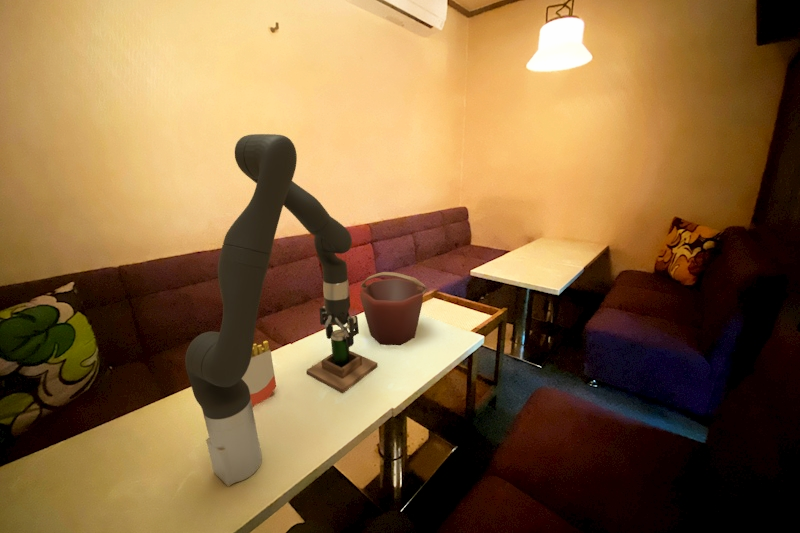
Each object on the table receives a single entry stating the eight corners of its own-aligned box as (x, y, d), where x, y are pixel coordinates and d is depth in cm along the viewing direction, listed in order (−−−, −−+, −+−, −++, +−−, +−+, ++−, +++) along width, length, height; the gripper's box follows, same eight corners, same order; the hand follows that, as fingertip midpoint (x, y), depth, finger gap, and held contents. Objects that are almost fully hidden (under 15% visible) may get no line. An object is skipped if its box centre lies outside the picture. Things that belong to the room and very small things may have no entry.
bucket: (434, 330, 137) (436, 270, 128) (404, 359, 119) (404, 291, 111) (383, 315, 149) (381, 259, 141) (349, 339, 132) (345, 276, 123)
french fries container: (233, 404, 99) (222, 349, 93) (270, 386, 106) (261, 334, 100) (240, 412, 96) (228, 356, 90) (277, 393, 103) (269, 340, 97)
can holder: (342, 393, 103) (341, 380, 101) (306, 374, 112) (305, 362, 110) (377, 366, 115) (377, 354, 114) (342, 351, 124) (341, 339, 122)
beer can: (337, 373, 109) (334, 339, 106) (330, 365, 114) (327, 332, 110) (353, 367, 112) (351, 334, 108) (346, 359, 116) (343, 327, 113)
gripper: (310, 292, 106) (315, 340, 111) (345, 304, 98) (348, 354, 103) (329, 285, 111) (332, 330, 117) (363, 295, 104) (365, 343, 109)
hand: (339, 341), depth 110 cm, fingers open, 8 cm apart
